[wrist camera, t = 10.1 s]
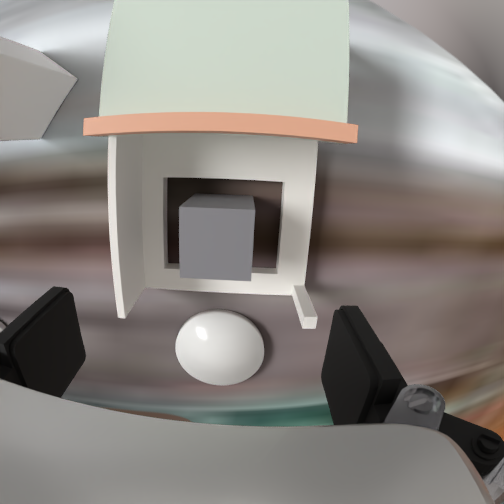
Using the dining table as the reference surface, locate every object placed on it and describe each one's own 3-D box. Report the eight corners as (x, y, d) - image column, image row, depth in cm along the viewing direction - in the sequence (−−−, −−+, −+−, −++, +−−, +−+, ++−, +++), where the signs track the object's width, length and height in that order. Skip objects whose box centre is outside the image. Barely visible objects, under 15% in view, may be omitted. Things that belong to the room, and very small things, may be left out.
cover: (339, 144, 19) (357, 142, 16) (106, 136, 18) (83, 135, 15) (342, -4, 16) (357, -25, 12) (124, -7, 15) (107, -27, 12)
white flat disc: (260, 381, 33) (260, 386, 32) (179, 376, 33) (178, 382, 32) (266, 311, 31) (267, 316, 30) (174, 306, 30) (172, 311, 29)
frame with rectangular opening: (300, 288, 30) (315, 328, 23) (143, 281, 30) (118, 317, 23) (318, 33, 23) (341, 1, 16) (151, 29, 22) (125, -3, 15)
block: (249, 250, 29) (250, 281, 22) (194, 248, 29) (179, 277, 22) (252, 195, 27) (255, 209, 21) (195, 193, 27) (179, 207, 21)
